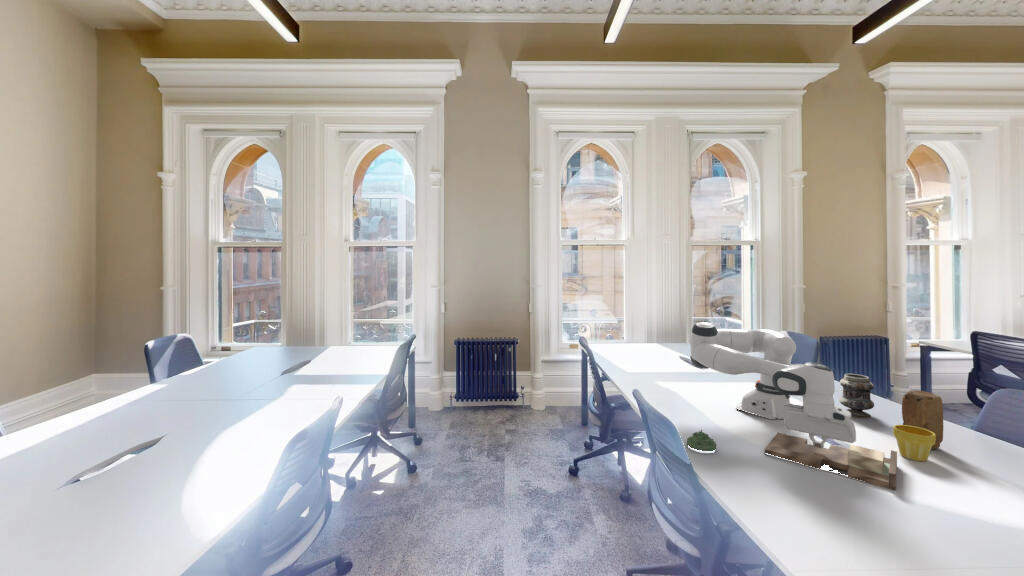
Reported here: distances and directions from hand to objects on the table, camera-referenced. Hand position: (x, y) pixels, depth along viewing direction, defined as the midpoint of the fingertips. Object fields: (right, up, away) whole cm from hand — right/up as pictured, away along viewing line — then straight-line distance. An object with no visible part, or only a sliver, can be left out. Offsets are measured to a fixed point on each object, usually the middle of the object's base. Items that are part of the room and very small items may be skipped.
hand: (818, 447), depth 137 cm
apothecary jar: (+49, -2, +40) cm, 63 cm away
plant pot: (+33, -3, -1) cm, 33 cm away
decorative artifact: (-37, -5, +9) cm, 39 cm away
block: (+46, -3, +9) cm, 47 cm away
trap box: (+2, -4, -2) cm, 5 cm away
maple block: (+9, -2, -9) cm, 13 cm away
